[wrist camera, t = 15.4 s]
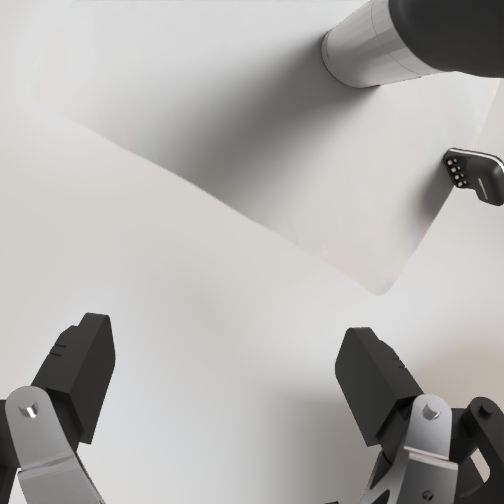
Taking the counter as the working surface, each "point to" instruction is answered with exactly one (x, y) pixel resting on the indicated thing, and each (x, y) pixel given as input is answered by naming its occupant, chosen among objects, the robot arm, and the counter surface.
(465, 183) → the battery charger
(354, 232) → the counter surface
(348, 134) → the counter surface
